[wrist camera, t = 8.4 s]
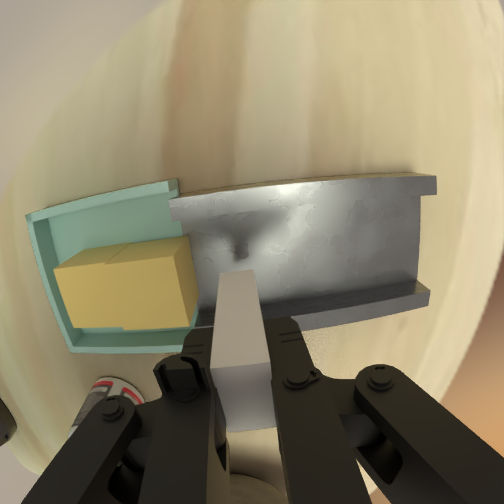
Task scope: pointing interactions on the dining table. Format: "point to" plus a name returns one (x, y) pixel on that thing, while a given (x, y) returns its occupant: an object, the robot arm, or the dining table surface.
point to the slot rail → (311, 245)
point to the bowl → (254, 491)
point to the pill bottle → (103, 390)
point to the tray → (97, 235)
